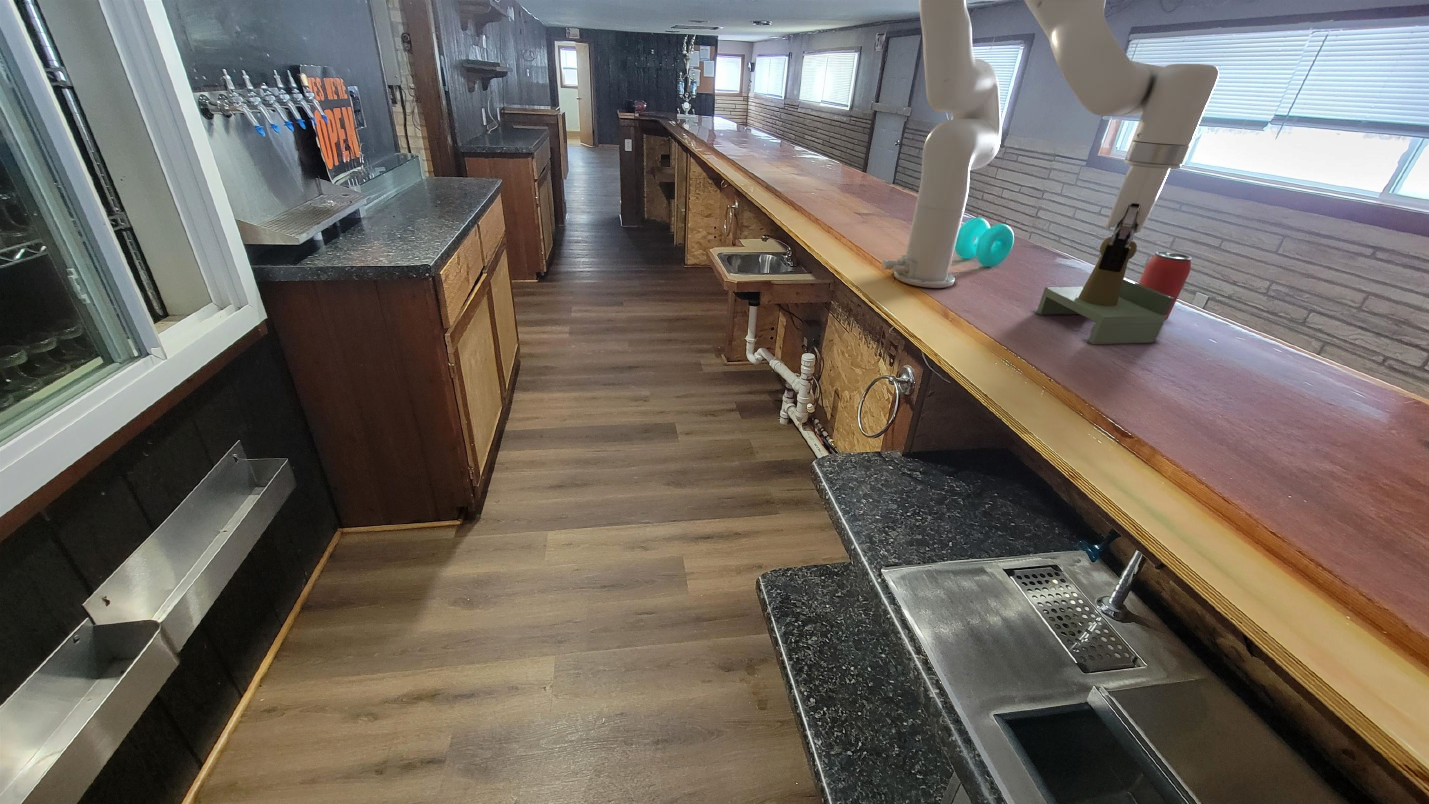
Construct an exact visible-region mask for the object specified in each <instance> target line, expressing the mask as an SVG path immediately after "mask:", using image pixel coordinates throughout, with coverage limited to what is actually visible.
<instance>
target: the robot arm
mask: <svg viewBox="0 0 1429 804" xmlns="http://www.w3.org/2000/svg"><path fill="white" fill-rule="evenodd" d="M985 1H988V2H989V1H991V2H993V1H998V0H985ZM1023 1H1024V3H1025V4H1026V6H1027V8H1028V9H1029V10H1030V12H1031V13H1032V15H1033V17H1034V18H1035V20H1036V21H1037V23H1038V25H1039V26H1040V27H1041V29H1042V31H1043V32H1044V34H1045V36H1046V37H1047V39H1048V41H1049V46H1050V49H1051V52H1052V54H1053V57H1054V59H1055V62H1056V65H1057V67H1058V69H1059V72H1060V73H1061V75H1062V76H1063V78H1064V80H1065V82H1066V83H1067V84H1068V86H1069V87H1070V89H1071V91H1072V92H1073V94H1074V95H1075V97H1076V99H1077V100H1078V101H1079V102H1080V104H1081V106H1083V107H1084V109H1086V110H1087V111H1088V112H1089V113H1091V114H1093V115H1096V116H1099V117H1127V116H1140V118H1139V120H1138V123H1137V125H1136V129H1135V132H1134V135H1133V137H1132V140H1131V142H1130V144H1129V147H1128V150H1127V153H1126V156H1125V158H1124V160H1123V164H1125V165H1129V167H1128V170H1127V171H1126V174H1125V177H1124V179H1123V181H1122V184H1121V186H1120V187H1119V188H1120V189H1119V191H1118V194H1117V196H1116V199H1115V202H1114V204H1113V207H1112V210H1111V212H1110V215H1109V217H1108V220H1107V222H1106V226H1105V228H1106V229H1107V230H1110V229H1111V228H1114V231H1113V234H1111V237H1112V238H1111V241H1110V244H1107V247H1106V249H1105V252H1104V254H1103V257H1102V260H1101V262H1100V265H1099V269H1102V270H1107V271H1113V272H1120V271H1121V269H1122V267H1123V265H1124V262H1125V260H1126V257H1127V255H1128V252H1129V250H1130V248H1129V245H1130V243H1131V240H1134V235H1135V234H1138V233H1141V230H1142V229H1143V227H1144V225H1145V224H1146V223H1147V220H1148V218H1149V217H1150V215H1151V212H1152V210H1153V208H1154V206H1155V205H1156V202H1157V200H1158V198H1159V195H1160V193H1161V192H1162V189H1163V186H1164V184H1165V182H1166V179H1167V177H1168V175H1169V173H1170V170H1179V169H1181V167H1182V164H1183V163H1184V160H1185V158H1186V155H1187V153H1188V150H1189V147H1190V145H1191V144H1192V142H1193V139H1194V137H1195V134H1196V132H1197V129H1198V127H1199V124H1200V122H1201V120H1202V117H1203V115H1204V113H1205V110H1206V108H1207V106H1208V103H1209V101H1210V99H1211V98H1212V97H1211V96H1212V94H1213V92H1214V89H1215V88H1216V84H1217V83H1218V80H1219V77H1220V71H1219V69H1218V67H1217V66H1215V65H1211V64H1203V63H1202V64H1201V63H1173V64H1168V65H1165V66H1164V65H1162V66H1161V65H1155V64H1150V63H1145V62H1139V61H1135V60H1131V59H1130V58H1129V57H1128V55H1127V53H1126V52H1125V51H1124V49H1123V48H1122V47H1121V45H1120V44H1119V42H1118V40H1117V39H1116V37H1115V36H1114V34H1113V32H1112V31H1111V28H1110V27H1109V25H1108V23H1107V22H1108V21H1107V20H1106V16H1105V7H1106V1H1107V0H1023ZM918 5H919V6H918V8H919V19H920V26H921V34H922V35H921V36H922V50H923V51H922V52H923V66H924V79H925V81H924V82H925V93H926V100H927V103H928V105H929V107H930V108H931V109H932V110H933V111H935V112H938V113H941V114H951V119H948V120H945V121H943V122H941V123H939V124H937V125H936V126H935V127H933V129H932V130H930V133H929V134H928V135H927V137H926V139H925V142H924V144H923V147H922V148H923V149H922V157H921V175H920V182H919V189H918V193H917V199H916V204H915V208H914V213H913V217H912V223H911V227H910V232H909V237H908V241H907V246H906V251H905V254H902V255H900V257H899V258H898V259H896V260H883V261H882V263H881V268H882V270H885V271H886V270H892V272H893V273H894V274H893V276H894V278H895V279H896V280H897V281H900V282H902V283H903V284H904V283H905V284H907V285H911V286H915V287H920V288H921V287H922V288H931V289H942V288H948V287H951V286H953V285H954V284H955V279H956V277H954V275H952V274H951V273H950V270H951V269H950V268H951V264H952V261H953V255H954V253H955V245H956V241H957V237H958V233H959V229H960V228H961V226H962V221H963V217H964V214H965V210H966V205H967V201H968V196H969V190H970V172H971V171H973V170H977V169H978V170H979V169H981V168H983V167H986V166H987V165H988V164H989V163H991V162H992V161H993V160H994V159H995V157H996V156H997V154H998V152H999V149H1000V145H1001V140H1002V125H1001V124H1002V122H1001V100H1000V98H1001V97H1000V83H999V79H998V76H997V72H996V71H995V68H994V67H993V66H992V65H991V64H990V63H989V62H988V61H986V60H984V59H980V58H976V57H975V54H974V47H973V27H972V22H971V17H970V14H969V10H968V7H967V0H919V1H918ZM1115 238H1116V239H1115ZM1127 240H1128V241H1127ZM1126 242H1127V243H1126ZM1113 243H1114V244H1113ZM1125 245H1126V246H1125Z"/></svg>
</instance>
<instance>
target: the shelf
mask: <svg viewBox="0 0 1429 804" xmlns="http://www.w3.org/2000/svg"><path fill="white" fill-rule="evenodd" d="M1138 283H1139V282H1135V281H1133V280H1130V279H1128V278H1125V277H1124V279H1123V283H1122V287H1121V291H1120V295H1119V299H1118V303H1117V305H1116V306H1100V305H1095V304H1091V303H1087V302H1085V301H1082V300H1081V299H1079V295H1080V293H1081V291H1082V289H1083V288H1084V286H1058V287H1057V286H1054V287H1053V286H1047V287H1046V286H1045V287H1044V288H1043V291H1042V295H1041V297H1040V300H1039V303H1038V306H1037V309H1036V313H1037V314H1039V315H1081V316H1083V317H1085V318H1086V319H1089V320H1091V321H1093V322H1095V323H1094V326H1093V328H1092V330H1091V333H1090V335H1089V338H1088V341H1087V342H1088V343H1090V344H1092V345H1108V344H1109V345H1110V344H1112V345H1113V344H1147V343H1148V344H1149V343H1151V344H1152V343H1155V342H1156V339H1157V337H1158V335H1159V334H1160V331H1161V329H1162V327H1163V325H1164V322H1165V321H1166V320H1165V318H1166V316H1167V314H1168V312H1169V309H1170V307H1171V305H1172V303H1173V301H1174V299H1175V298H1173V297H1170V296H1168V295H1165V294H1163V293H1160V292H1158V291H1155V290H1153V289H1150V288H1148V287H1145V286H1143V285H1140V284H1138ZM1164 320H1165V321H1164Z"/></svg>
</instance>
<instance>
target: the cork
mask: <svg viewBox="0 0 1429 804" xmlns="http://www.w3.org/2000/svg"><path fill="white" fill-rule="evenodd" d="M1111 238H1112V236H1108V237H1106V238H1105V239H1104V240H1103V241H1102V242H1101V245H1100V247H1099V253H1100V257H1099V259H1098V260H1097V262H1096V264H1095V266H1094V268H1093V269H1092V271H1091V273H1090V275H1089V277H1088V279H1087V281H1086V282H1085V283H1084V286H1083V287H1084V288H1083V289H1082V291H1081V293H1080V295H1079V299H1081V300H1082V301H1085V302H1087V303H1091V304H1095V305H1100V306H1116V305H1117V303H1118V299H1119V295H1120V291H1121V287H1122V283H1123V279H1124V278H1125V276H1126V275H1125V274H1126V271H1127V268H1128V262H1129V260H1131V259H1132V258H1133V257H1134V256H1135V255H1136V254H1137V253H1136V252H1137V250H1138V243H1137V241H1136V240H1134V239H1133V240H1131V243H1130V245H1129V248H1130V250H1129V252H1128V255H1127V257H1126V260H1125V262H1124V265H1123V267H1122V269H1121V271H1120V272H1113V271H1107V270H1102V269H1099V265H1100V262H1101V260H1102V257H1103V254H1104V252H1105V249H1106V247H1107V244H1110V241H1111ZM1115 239H1116V238H1115ZM1127 241H1128V240H1127ZM1126 243H1127V242H1126ZM1113 244H1114V243H1113ZM1125 246H1126V245H1125Z"/></svg>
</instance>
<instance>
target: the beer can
mask: <svg viewBox="0 0 1429 804" xmlns="http://www.w3.org/2000/svg"><path fill="white" fill-rule="evenodd" d="M1192 260H1193V258H1192V257H1191V256H1190V255H1187V254H1184V253H1181V252H1180V253H1179V252H1174V251H1168V250H1167V251H1166V250H1158V251H1155V252H1154V254H1153V256H1152V257H1151V258H1150V259H1149V260H1148V261H1147V263H1146V265H1145V268H1144V269H1143V272H1142V274H1141V276H1140V279H1139V282H1137V283H1138V284H1140V285H1143V286H1145V287H1148V288H1150V289H1153V290H1155V291H1158V292H1160V293H1163V294H1165V295H1168V296H1170V297H1173V298H1175V299H1174V301H1173V303H1172V305H1171V307H1170V309H1169V312H1168V314H1167V316H1166V318H1165V320H1164V322H1165V321H1167V320H1168V319H1169V317H1170V314H1171V313H1172V310H1173V308H1174V307H1175V304H1176V302H1177V300H1178V298H1179V296H1180V294H1181V291H1182V289H1183V287H1184V286H1185V284H1186V281H1187V279H1188V277H1189V275H1190V272H1191V268H1192Z"/></svg>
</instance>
